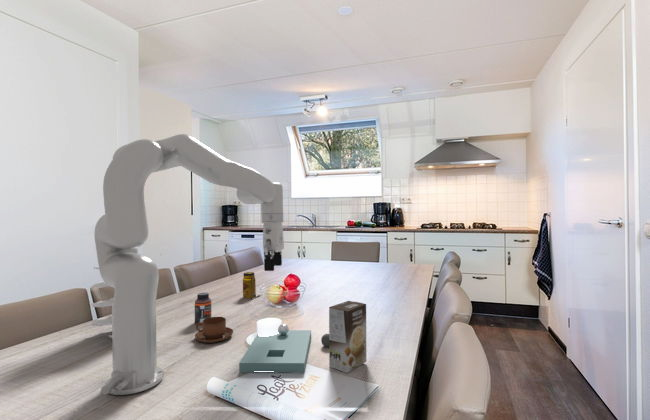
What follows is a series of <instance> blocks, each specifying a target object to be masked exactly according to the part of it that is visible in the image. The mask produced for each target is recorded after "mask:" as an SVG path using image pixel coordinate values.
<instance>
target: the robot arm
mask: <svg viewBox="0 0 650 420" xmlns="http://www.w3.org/2000/svg"><path fill="white" fill-rule="evenodd" d="M177 167H182V168H184V169H185V170H187V171H189V172H191V173H193V174H194V175H196V176H198V177H200V178H202V179H203V180H204V181H205V180H206V181H207V182H209V183H210V184H212V185H216V186H220V187H226V188H234V189H236V198H237V199H238V200H239V201H240V202H241V203H243V204H245V205H260V215H261V219H260V220H261V224H263V227H262V229H263V230H262V247H263V249H262V250H263V255H264V256H263V260H264V261H263V267H264V268H263V270H264V271H265V272H274V271H275V267H277V266H278V267H279V266H282V265H283V264H282V263H283V262H282V261H283V260H282V259H283V258H282V257H283V256H282V250H284V249H285V242H284V228H283V227H284V226H283V223H284V198H283V197H284V194H283V193H284V190H283V188H284V187H283V185H282V183H280V182H272V181H271V180H270V179H269V178H268V177H266V176H265V175H263V174H261V173H260V172H258V171H257V170H255V169H253V168H251V167H248V166H245V165H243V164H240V163H238V162H235V161H232V160H230V159H227V158H226V157H224V156H222V155H220V154H219V153H217V152H216V151H214V150H213V149H211V148H210V147H208V145H205V144H204V143H202V142H200V141H199V140H198V139H196V138H195V137H192V136H191V135H189V134H187V133H186V134H185V133H181V134H175V135H173V136H170V137H166V138H163V139H159V140H155V141H154V140H152V139H146V138H145V139H137V140H134V141H131V142H129V143H127V144H124V145H123V146H120V147H118V148H117V149H116V150H115V151H114V153H113V155H112V160H111V161H110V163H109V165H108V166H107V168H106V170H105V173H104V176H103V177H104V178H103V184H102V191H103V194H102V195H103V206H104V213H105V214H103V215H102V216H101V217H100V218H99V219H98V220H97V222H96V224H95V227H94V242H95V250H96V257H97V263H98V264H97V265H98V266H99V269H98V270H99V274H100V277H101V279H102V281H103V283H106V284H108V285H109V286H111V288H114V290H113V291H114V294H113V297H112V298H113V305H112V306H111V307H112V308H111V316H112V325H111V327H112V328H111V331H112V333H111V335H112V338H111V340H112V343H111V344H112V372H111V373H110V374H111V375H110V377H109V378H108V379H107V381H106V382H105V384H104V385H103V386H102V387H101V388H100V392H101V394H103V395H104V396H105V395H108V394H109V395H115V396H124V395H125V396H126V395H127V396H128V395H132V394H133V395H134V394H137V393H141V392H143V391H146V390H149V389H151V388H153V387H156V385H158V384H159V383H160V382H161V381H162V380H163V379H164V370H163V369H162V368H161V367H159V366H158V365H157V361H158V359H157V354H158V353H157V293H158V288H159V286H158V285H159V280H160V279H159V278H160V274H159V273H160V272H159V268H158V266H157V264H156V263H155V261H154V260H153V259H151V258H150V257H148V256H146V255H144V254H139V253H138V250H139V249H138V248H140V247H141V246H143V245H144V244H145V243H146V241H147V240H148V238H149V224H148V219H147V211H146V210H147V209H146V203H145V192H144V191H145V186H146V185H145V184H146V181H147V180H148V178H149V177H150V176H151V174H152V173H157V172H161V171H166V170H169V169H173V168H177Z"/></svg>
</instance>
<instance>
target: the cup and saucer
mask: <svg viewBox="0 0 650 420" xmlns="http://www.w3.org/2000/svg"><path fill="white" fill-rule="evenodd" d="M226 321H227V319H226V317H223V316H213V317H212V316H211V318H207V319H204V320H203V321H202V322H201V323H198V324H197V325H196V324H195V325H196V326H195V329H196V331H197V332H196V333H195V334H194V337H195V340H197V341H198V342H201V343H206V344H207V343H208V344H209V343H211V344H212V343H218V342H221V341H225V340H227V339H229V338H230V337H231V336H232V335H233V334H234V330H233V329H232V328H230V327H226V326H227V323H226ZM199 326H202V329H199ZM204 338H205V339H204Z"/></svg>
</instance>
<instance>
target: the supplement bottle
mask: <svg viewBox="0 0 650 420" xmlns="http://www.w3.org/2000/svg"><path fill="white" fill-rule="evenodd" d="M209 294H210V293H209V292H199V293H197V296H196V297H197V298H196V299H195V300H194V324H195V325H197V324H198V323H201V322H202V321H203V320H204V319H207V318H211V317H212V316H213V315H212V299H211V298H210V296H209Z"/></svg>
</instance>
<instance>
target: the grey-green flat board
mask: <svg viewBox="0 0 650 420" xmlns="http://www.w3.org/2000/svg"><path fill="white" fill-rule="evenodd" d="M311 341H312V330H311V329H310V330H309V329H306V330H305V329H302V330H301V329H298V330H297V329H296V330H295V329H291V330H290V329H289V331H288V333H287V334H286V335H281V334H280V333H279V334H277V335H274V336H269V337H259V336H258V333H257V334H256V335H255V338H254V339H253V341H252V342H251V344H250V345H249V347H248V349H247V350H246V352H245V353H244V355H243V356H242V358H241V359H240V361H239V363H238V365H239V366H238V368H239V369H238V371H239V373H243V374H245V373H246V374H248V373H250V374H251V372H254V371H274V372H306V367H307V364H308V363H307V362H308V357H309V351H310V346H311Z"/></svg>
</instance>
